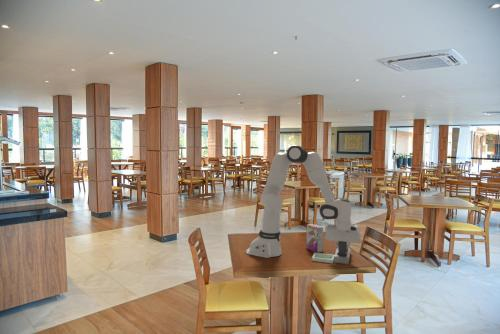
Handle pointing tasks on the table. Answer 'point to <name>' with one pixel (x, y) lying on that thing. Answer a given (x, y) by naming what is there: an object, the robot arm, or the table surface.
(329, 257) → the plug tray
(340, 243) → the black plug
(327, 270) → the table surface
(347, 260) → the pdu strip
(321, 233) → the candy bar box
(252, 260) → the table surface
